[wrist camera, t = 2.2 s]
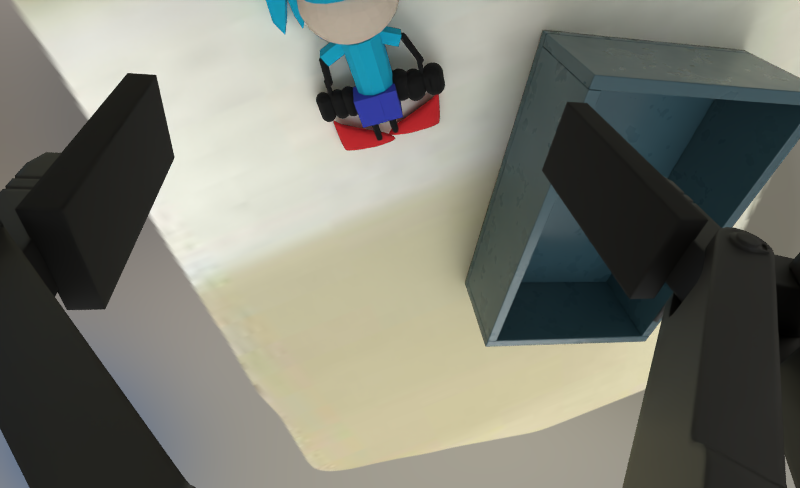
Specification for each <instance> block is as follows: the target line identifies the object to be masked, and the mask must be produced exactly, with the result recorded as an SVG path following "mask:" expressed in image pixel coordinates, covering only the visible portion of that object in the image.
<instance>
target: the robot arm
mask: <svg viewBox="0 0 800 488" xmlns="http://www.w3.org/2000/svg"><path fill="white" fill-rule="evenodd" d="M173 160H174V153H173V149H172V144H171V140H170V135H169V131H168V126H167V122H166V117H165V113H164V108H163V104H162V99H161V95H160V90H159V86H158V81H157V77H156V75H148V74H133V73H127V75H126V76H125V77H124V78H123V79H122V81H121V82H120V83H119V84H118V85H117V87H116V88H115V89H114V90H113V91H112V93H111V94H110V95H109V96H108V97H107V99H106V100H105V101H104V102H103V103H102V105H101V106H100V107H99V108H98V110H97V111H96V112H95V113H94V114H93V116H92V117H91V118H90V119H89V120H88V122H87V123H86V124H85V125H84V126H83V128H82V129H81V130H80V131H79V132H78V134H77V135H76V136H75V137H74V139H73V140H72V141H71V142H70V143H69V144H68V146H67V147H66V148H65V149H64V151H63V152H62V153H48V152H47V153H44V154H42V155H41V156H39V157H37V158H35V159H33V160H31V161H30V162H28V163H26V164H25V165H24V166H23V168H22V169H21V170H20V171H19V172H18V173H17V174H16V175H15V178H13V179H12V180H11V181H10V182H9V183H8V184H7V185H6V189H2V191H1V192H0V429H1V431H2V433H3V435H4V437H5V439H6V441H7V443H8V445H9V447H10V449H11V451H12V453H13V455H14V457H15V459H16V461H17V463H18V465H19V467H20V469H21V471H22V473H23V475H24V477H25V479H26V481H27V483H28V485H29V487H30V488H195V487H194V486H192V485H190V484H189V483H188V482H187V481H186V479H185V478H184V477H183V475H182V474H181V473H180V471H179V470H178V468H177V467H176V466H175V464H174V463H173V462H172V460H171V459H170V457H169V456H168V455H167V454H166V452H165V451H164V449H163V448H162V446H161V445H160V444H159V442H158V441H157V439H156V438H155V436H154V435H153V434H152V432H151V431H150V429H149V428H148V427H147V425H146V424H145V422H144V421H143V420H142V418H141V417H140V416H139V414H138V413H137V411H136V410H135V409H134V407H133V406H132V404H131V403H130V401H129V400H128V399H127V397H126V396H125V394H124V393H123V392H122V390H121V389H120V387H119V386H118V385H117V384H116V382H115V380H114V379H113V378H112V376H111V375H110V374H109V372H108V371H107V369H106V368H105V367H104V365H103V364H102V362H101V361H100V360H99V358H98V357H97V355H96V354H95V353H94V351H93V350H92V348H91V347H90V346H89V344H88V343H87V341H86V340H85V339H84V337H83V336H82V334H81V333H80V332H79V330H78V329H77V327H76V326H75V325H74V323H73V322H72V320H71V319H70V318H69V316H68V315H67V313H66V312H65V311H64V309H63V308H62V306H61V305H60V304H59V302H58V301H57V299H56V298H55V296H56V294H57V292H58V294H59V296H60V297H61V299H62V301H63V303H64V305H65V307H66V309H67V310H89V309H90V310H91V309H105V308H106V306H107V304H108V302H109V300H110V297H111V295H112V293H113V291H114V289H115V287H116V284H117V282H118V280H119V278H120V276H121V273H122V271H123V269H124V267H125V264H126V263H127V260H128V258H129V256H130V254H131V251H132V249H133V247H134V245H135V242H136V241H137V238H138V236H139V234H140V232H141V230H142V228H143V225H144V223H145V221H146V219H147V217H148V214H149V212H150V210H151V208H152V206H153V204H154V201H155V199H156V197H157V195H158V193H159V190H160V188H161V186H162V184H163V182H164V180H165V177H166V175H167V173H168V171H169V169H170V166H171V164H172V162H173ZM542 172H543V173H544V175H545V176H546V178H547V179H548V181H549V182H550V183H551V185H552V186H553V188H554V189H555V191H556V192H557V194H558V195H559V197H560V198H561V200H562V201H563V203H564V204H565V205H566V207H567V208H568V210H569V211H570V213H571V214H572V216H573V217H574V219H575V220H576V222H577V223H578V224H579V226H580V227H581V229H582V230H583V232H584V233H585V235H586V236H587V238H588V239H589V241H590V242H591V244H592V245H593V246H594V248H595V249H596V251H597V252H598V254H599V255H600V257H601V258H602V260H603V261H604V263H605V264H606V265H607V267H608V268H609V270H610V271H611V273H612V274H613V276H614V277H615V279H616V280H617V282H618V283H619V284H620V286H621V287H622V289H623V290H624V292H625V293H626V295H627V296H628V298H629V299H654V298H655V296H656V295H657V293H658V292H659V291H660V289H661V288H662V286H663V285H664V283H665V282H666V283H667V285H668V286H669V287H670V288H671V290H672V291H673V293H672V295H671V296H670V297H669V299H668V300H667V302H666V303H665V304H664V306H663V307H662V308H661V310H660V311H659V313H658V314H657V315H656V317H655V318H654V320H653V321H654V322H656V323H657V322H658V321H659V319H661V318H662V321H661V326H660V330H659V334H658V339H657V343H656V347H655V351H654V356H653V360H652V364H651V368H650V373H649V377H648V381H647V385H646V390H645V394H644V398H643V402H642V407H641V411H640V416H639V419H638V424H637V428H636V432H635V436H634V441H633V445H632V449H631V454H630V458H629V462H628V467H627V471H626V475H625V479H624V483H623V488H787V485H786V475H785V474H786V473H785V457H786V460H787V463H788V466H789V469H790V472H791V475H792V478H793V481H794V484H795V487H796V488H800V253H799V254H798V255H797V256H796V257H795V259H792V258H788V257H783V256H778V255H774V252H773V250H772V248H771V247H770V246H769V245H767V243H766V242H764V241H763V240H762V239H760V238H759V237H757V236H755V235H753V234H751V233H749V232H747V231H744V230H740V229H737V228H730V227H724V228H721V227H720V226H719V225H718V224H717V223H716V222H715V221H714V220H713V219H712V218H711V217H710V216H708V215H707V214H706V213H705V212H704V211H703V210H702V209H701V208H700V207H699V206H698V205H697V204H696V203H693V200H692V199H691V198H690V197H689V196H687V195H684V192H683V191H682V190H681V189H680V188H679V187H678V186H677V185H676V184H675V183H674V182H672V181H671V180H669V179H667V178H666V177H664V176H663V175H661V174H660V173H659V172H658V171H657V170H656V169H655V168H654V167H653V166H652V165H651V164H650V163H649V162H648V161H647V160H646V159H645V158H644V157H643V156H642V155H641V154H640V153H639V152H638V151H637V150H636V149H635V148H633V147H632V146H631V145H630V144H629V143H628V142H627V141H626V140H625V139H624V138H623V137H622V136H621V135H620V134H619V133H618V132H617V131H616V130H615V129H614V128H613V127H612V126H611V125H610V124H609V123H608V122H607V121H605V120H604V119H603V118H602V117H601V116H600V115H599V114H598V113H597V112H596V111H595V110H594V109H593V108H592V107H591V106H590V105H589V104H588V103H580V102H567V103H566V106H565V109H564V111H563V114H562V117H561V119H560V122H559V125H558V128H557V130H556V133H555V136H554V138H553V141H552V144H551V147H550V149H549V152H548V155H547V157H546V160H545V163H544V165H543V168H542Z"/></svg>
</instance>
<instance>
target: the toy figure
mask: <svg viewBox="0 0 800 488" xmlns="http://www.w3.org/2000/svg"><path fill="white" fill-rule="evenodd" d="M266 2H267V5H268V8H269V11H270V14H271V18H272V21H273V23H274V24H275V25H276V26H277V27H278V28H279V29H280V30H281V31H282V32H283V33H284V34H285V32H286V23H287V0H266ZM288 2H289V4H290V6H291V9H292V11H293V13H294V16H295V17H296V19H297V21H298V22H299V24H300V25H301V27H302V28H303V27H304V22H305V23H306V25H307V26H308V28H309V29H310V30H311V31H312V32H314V33H315V34H316V35H317V36H319V37H321V38H322V39H324V40H326V41H328V42H330V43H328V44H327V45H326V46H325V47H323V48H322V49H321V50H320V58H319V61H320V65H321V68H322V72H323V76H324V79H325V80H324V82H325V85H326V88H327V91H328V93H325V92H321V93H319V94H318V95H317V97H316V102H317V105H318V107H319V110H320V112H321V115H322V118H323V119H324V120H325V121H327V122H331V121H333V120H334V119H335V118H336V115H337V116H338V117H339V118H342V119H344V118H346V117H348V116H349V115H350V116H356V115H359V118H360V121H361V123H362V126H363V128H364V127H368V126H372V127H373V130H369V129H363V128H358V127H353V126H348V125H344V124H340V123H338V122H336V121H334V125H335V127H336V130H337V133H338V135H339V137H340V140H341V142H342V144H343V146H344V148H345V149H346V150H359V149H365V148H371V147H376V146H379V145H383V144H385V143H388V142H391V141H393V140H394V139H395V137H394V136H392V135H398V134H406V133H411V132H415V131H419V130H422V129H426V128H429V127H432V126H434V125H436V124H438V123H439V119H440V110H439V108H440V107H439V94H440V93H441V92H442V91H443V90H444V87H445V82H444V76H443V70H442V68H441V66H440V65H439V64H437V63H428V64H427V65H426V66H425V67H424V68H423V64H422V63H423V61H424V59H423V57H422V56H421V54H420V53H419V52H418V50H417V49H416V48H415V46H414V45H413V44H412V42H411V41H410V40H409V38H408V37H407V35H406V34H405V33H401V29H397V28H392V27H388V26H387V25H388V24H389V22H390V21H391V19H392V18H393V16H394V14H395V12H396V10H397V6H398V2H399V0H288ZM400 39H401V40H402V41H403V43H404V44H405V45H406V47H407V48H408V49H409V51H410V52H411V53H412V55H413V56H414V57H415V59H416V60H417V64H418V68H419V70H417V69H409V70H408V71H405V70H403V69H395V70H393V71H392V69H391V66H390V62H389V58H388V55H387V51H386V47H385V44H387V45H392V46H397V47H399V43H400ZM344 54H345V57H346V60H347V62H348V65H349V68H350V71H351V73H352V76H353V79H354V82H355V85H356V87H351V86H346V87H344V88H343V89H342V90H339V89H336V90H334V91H332V88H331V85H332V84H333V81H332V77H331V73H330V69H329V66H330V65H331V64H333V63H334V62H335V61H337V60H338V59H339V58H340V57H342V56H343V55H344ZM426 91H427V92H428V93H429V94H431V95H434V96H433V98H432V99H430V100H429V101H428V102H426V103H425V104H423V105H422V106H421V107H419V108H418V109H417V110H415V111H414V112H413V113H411V114H410V115H408V116H407V117H406V118H404V119H403V120H401V121H400V122H399V123H397V121H396V119H398V118H402V117H403V114H402V107H401V101H403V100H406V99H408V98H410V99H411V100H414V101H418V100H420V99H422V98H423V97H424V96H425V93H426ZM387 121H390V124H391V128H392V129H391V131H390V133H389V134H388V133H385V132H381V131H380V128H379V125H378V124H380V123H384V122H387Z"/></svg>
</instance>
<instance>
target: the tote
mask: <svg viewBox="0 0 800 488" xmlns="http://www.w3.org/2000/svg"><path fill="white" fill-rule="evenodd" d="M567 102H580V103H588V104H589V105H590V106H591V107H592V108H593V109H594V110H595V111H596V112H597V113H598V114H599V115H600V116H601V117H602V118H603V119H604V120H605V121H607V122H608V123H609V124H610V125H611V126H612V127H613V128H614V129H615V130H616V131H617V132H618V133H619V134H620V135H621V136H622V137H623V138H624V139H625V140H626V141H627V142H628V143H629V144H630V145H631V146H632V147H633V148H635V149H636V150H637V151H638V152H639V153H640V154H641V155H642V156H643V157H644V158H645V159H646V160H647V161H648V162H649V163H650V164H651V165H652V166H653V167H654V168H655V169H656V170H657V171H658V172H659V173H660V174H661V175H663V176H664V177H666V178H667V179H669V180H671V181H672V182H674V183H675V184H676V185H677V186H678V187H679V188H680V189H681V190H682V191H683V192H684V195H687V196H689V197H690V198H691V199H692V200H693V203H696V204H697V205H698V206H699V207H700V208H701V209H702V210H703V211H704V212H705V213H706V214H707V215H708V216H710V217H711V218H712V219H713V220H714V221H715V222H716V223H717V224H718V225H719V226H720V227H721V228H724V227H730V228H732V227H733V226H734V224H735V223H736V222H737V220H738V219H739V218H740V216H741V215H742V214H743V212H744V211H745V210H746V208H747V207H748V206H749V205H750V203H751V202H752V201H753V199H754V198H755V197H756V195H757V194H758V193H759V191H760V190H761V189H762V187H763V186H764V185H765V184H766V182H767V181H768V180H769V178H770V177H771V176H772V174H773V173H774V172H775V170H776V169H777V168H778V166H779V165H780V164H781V163H782V161H783V160H784V159H785V157H786V156H787V155H788V153H789V152H790V150H791V149H792V148H793V147H794V146H795V144H796V143H797V141H798V140H799V139H800V78H799V77H797V76H795V75H793V74H791V73H789V72H787V71H785V70H783V69H781V68H779V67H777V66H775V65H773V64H771V63H769V62H767V61H765V60H763V59H761V58H759V57H757V56H755V55H753V54H750V53H749V52H747V51H745V50H736V49H726V48H716V47H706V46H696V45H686V44H676V43H665V42H655V41H645V40H635V39H625V38H615V37H605V36H595V35H585V34H575V33H565V32H555V31H545V30H544V31H543V32H542V35H541V39H540V42H539V45H538V48H537V52H536V55H535V58H534V61H533V65H532V68H531V71H530V74H529V77H528V81H527V84H526V87H525V90H524V94H523V97H522V100H521V103H520V107H519V110H518V113H517V116H516V120H515V123H514V126H513V129H512V132H511V136H510V139H509V142H508V145H507V149H506V152H505V155H504V158H503V162H502V165H501V168H500V171H499V175H498V178H497V181H496V184H495V187H494V191H493V194H492V197H491V200H490V204H489V207H488V210H487V213H486V217H485V220H484V223H483V226H482V230H481V233H480V236H479V239H478V242H477V246H476V249H475V252H474V255H473V259H472V262H471V265H470V268H469V272H468V275H467V278H466V281H465V285H466V288H467V291H468V294H469V297H470V300H471V303H472V306H473V309H474V312H475V315H476V318H477V321H478V325H479V328H480V331H481V334H482V337H483V340H484V343H485V346H486V347H488V346H519V345H549V344H580V343H610V342H641V341H646V340H647V338H648V337H649V336H650V334H651V333H652V332H653V331H654V329H655V328H656V327H657V325H658V324H659V323H660V321H661V320H662V318H661V319H659V321H658V322H657V323H656V322H654V321H653V320H654V318H655V317H656V315H657V314H658V313H659V311H660V310H661V308H662V307H663V306H664V304H665V303H666V302H667V300H668V299H669V297H670V296H671V295H672V293H673V291H672V290H671V288H670V287H669V286H668V285H667V283H666V282H665V283H664V285H663V286H662V288H661V289H660V291H659V292H658V293H657V295H656V296H655V298H654V299H629V298H628V296H627V295H626V293H625V292H624V290H623V289H622V287H621V286H620V284H619V283H618V282H617V280H616V279H615V277H614V276H613V274H612V273H611V271H610V270H609V268H608V267H607V265H606V264H605V263H604V261H603V260H602V258H601V257H600V255H599V254H598V252H597V251H596V249H595V248H594V246H593V245H592V244H591V242H590V241H589V239H588V238H587V236H586V235H585V233H584V232H583V230H582V229H581V227H580V226H579V224H578V223H577V222H576V220H575V219H574V217H573V216H572V214H571V213H570V211H569V210H568V208H567V207H566V205H565V204H564V203H563V201H562V200H561V198H560V197H559V195H558V194H557V192H556V191H555V189H554V188H553V186H552V185H551V183H550V182H549V181H548V179H547V178H546V176H545V175H544V173H543V172H542V168H543V165H544V163H545V160H546V157H547V155H548V152H549V149H550V147H551V144H552V141H553V138H554V136H555V133H556V130H557V128H558V125H559V122H560V119H561V117H562V114H563V111H564V109H565V106H566V103H567Z"/></svg>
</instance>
